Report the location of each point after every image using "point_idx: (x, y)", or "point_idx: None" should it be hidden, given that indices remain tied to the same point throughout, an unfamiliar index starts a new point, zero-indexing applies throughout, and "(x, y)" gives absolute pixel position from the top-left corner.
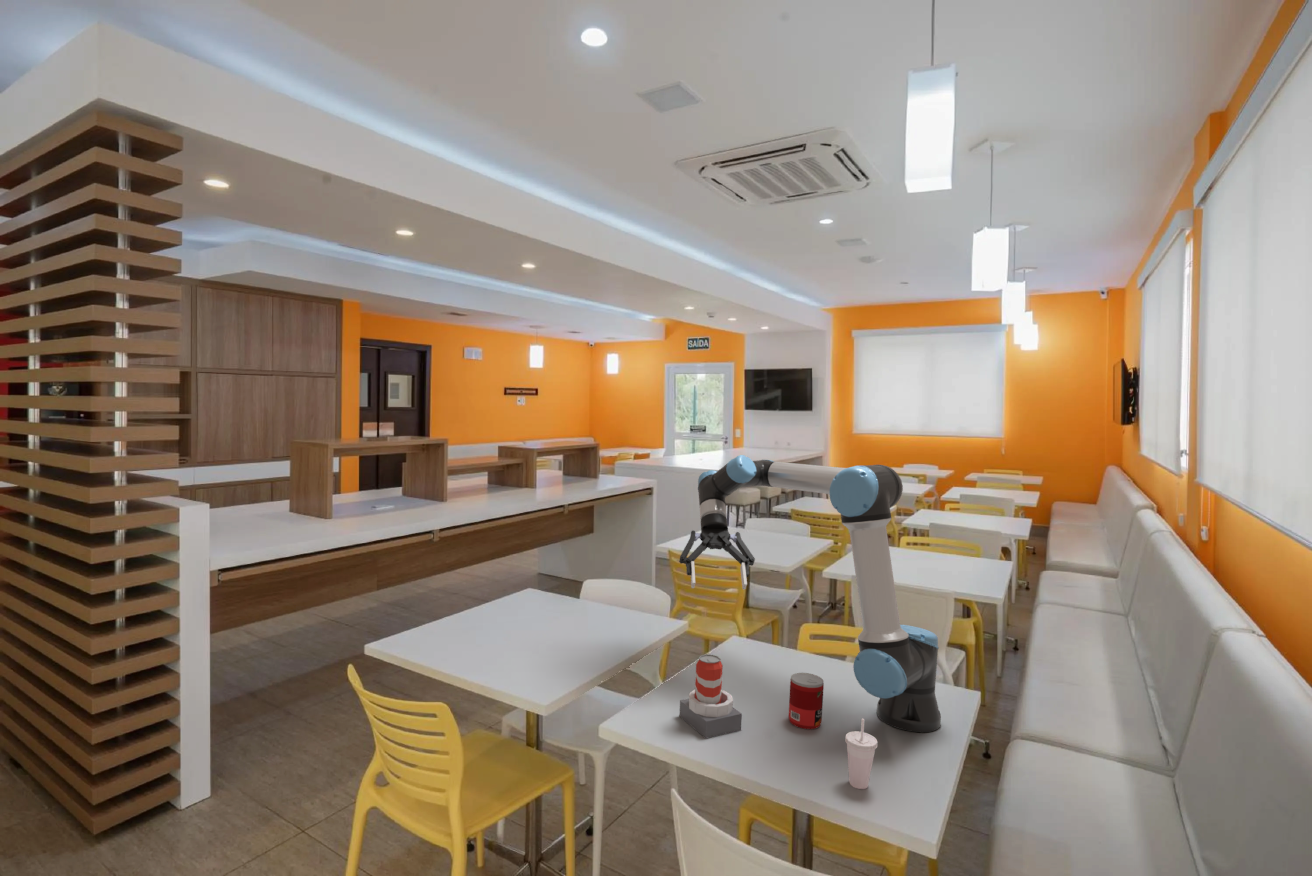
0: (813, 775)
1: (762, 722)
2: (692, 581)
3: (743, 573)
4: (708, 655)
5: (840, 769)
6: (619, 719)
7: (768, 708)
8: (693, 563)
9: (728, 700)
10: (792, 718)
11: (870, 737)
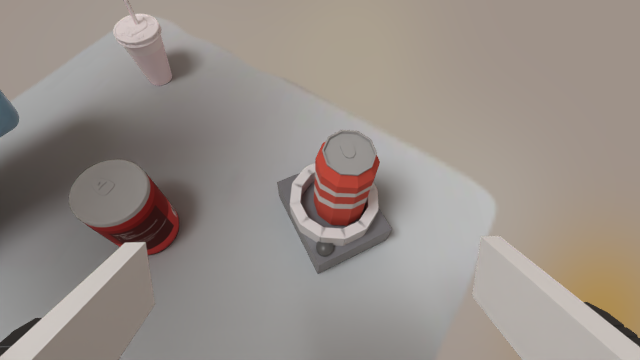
0: (210, 91)
1: (232, 224)
2: (505, 241)
3: (93, 293)
4: (350, 173)
5: (166, 103)
6: (490, 224)
7: (199, 284)
8: (614, 343)
9: (300, 183)
10: (175, 212)
11: (119, 30)
